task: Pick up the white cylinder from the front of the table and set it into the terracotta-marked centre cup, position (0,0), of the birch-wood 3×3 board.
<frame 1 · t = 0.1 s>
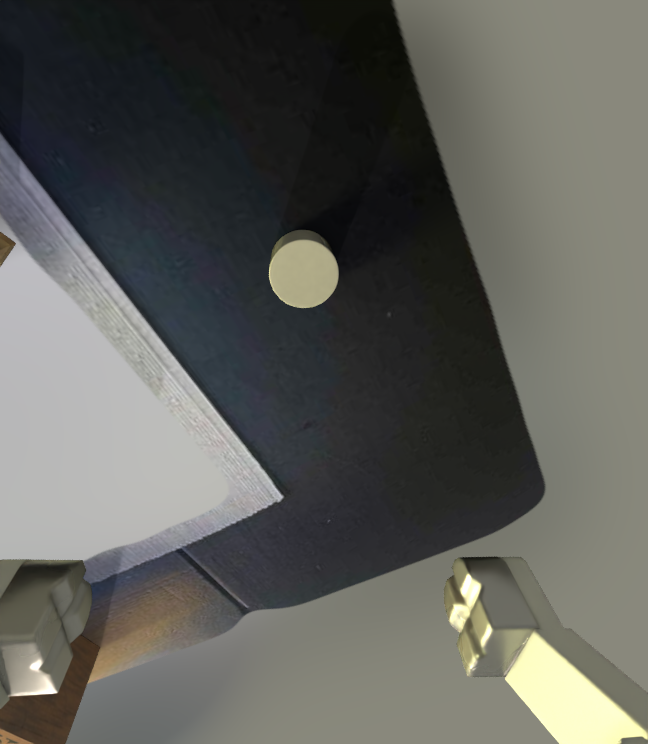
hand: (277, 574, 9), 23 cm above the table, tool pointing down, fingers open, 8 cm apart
white cylinder: (302, 262, 29), on the table
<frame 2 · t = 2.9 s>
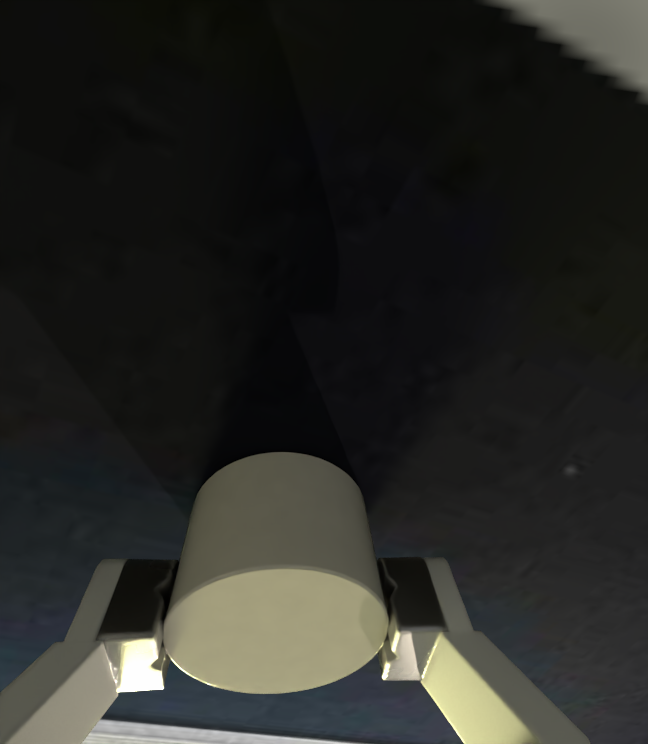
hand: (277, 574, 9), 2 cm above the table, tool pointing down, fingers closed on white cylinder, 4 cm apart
white cylinder: (280, 517, 11), on the table, touching gripper
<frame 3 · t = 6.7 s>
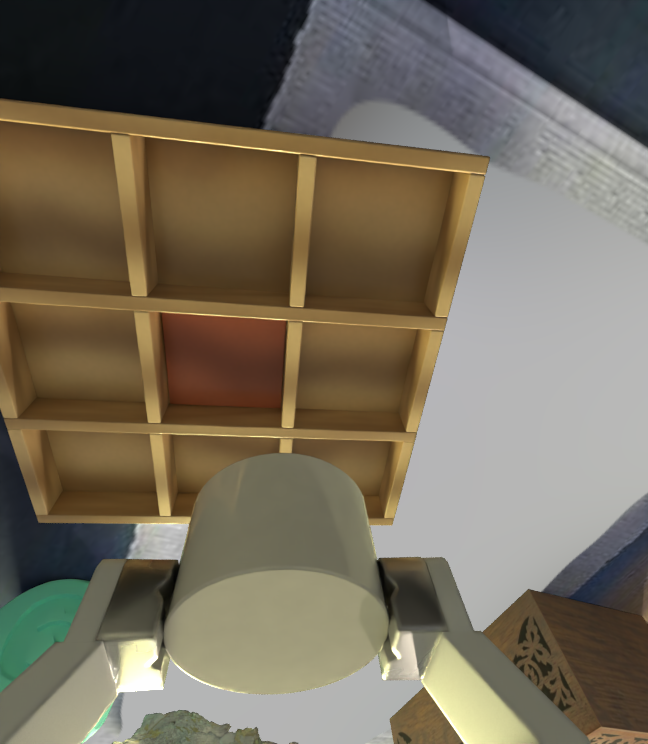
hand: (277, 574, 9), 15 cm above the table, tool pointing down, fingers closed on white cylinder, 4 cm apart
tissue box cover: (504, 669, 45), on the table
board: (227, 351, 23), on the table
rock: (204, 727, 46), on the table
white cylinder: (280, 517, 11), point 14 cm above the table, touching gripper
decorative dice: (79, 605, 34), on the table
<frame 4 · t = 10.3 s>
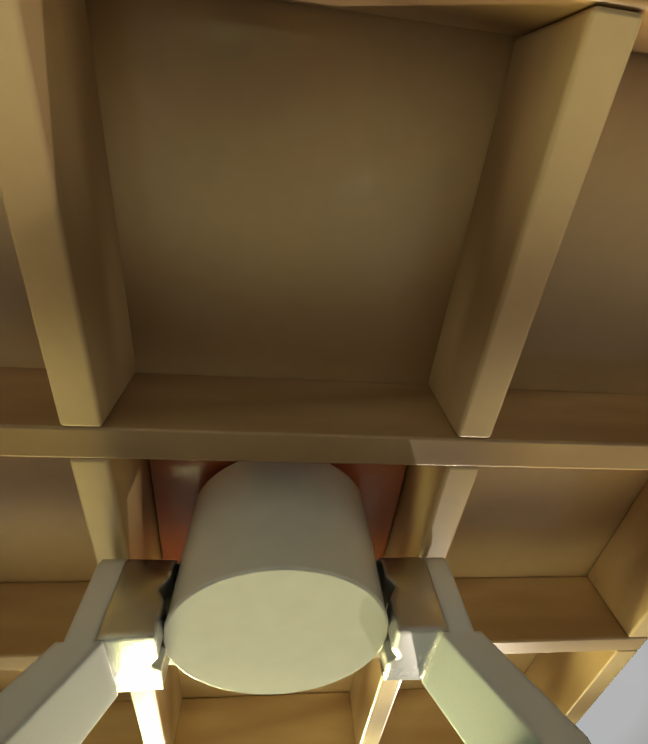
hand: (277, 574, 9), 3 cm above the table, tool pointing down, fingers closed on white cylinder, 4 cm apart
board: (280, 487, 12), on the table
white cylinder: (280, 518, 11), point 1 cm above the table, touching gripper
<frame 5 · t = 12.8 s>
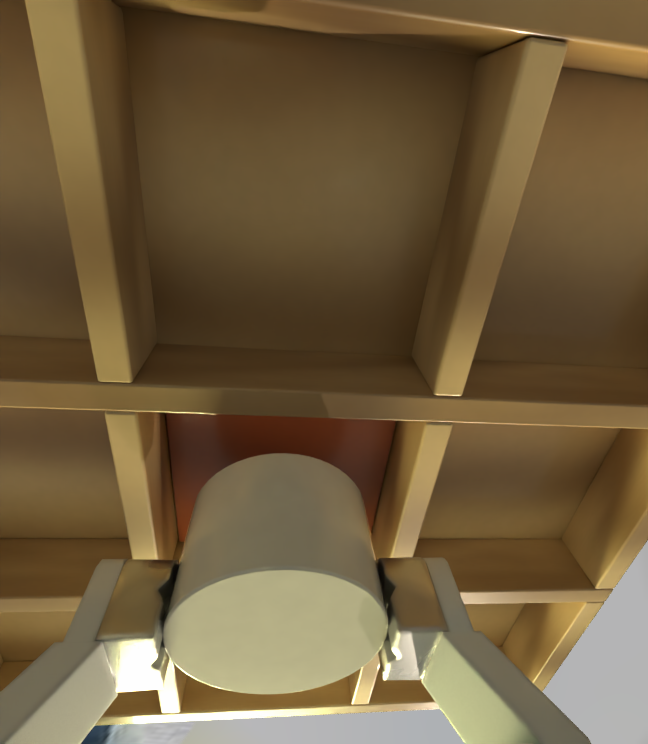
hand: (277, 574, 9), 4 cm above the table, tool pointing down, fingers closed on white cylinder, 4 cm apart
board: (281, 452, 13), on the table
white cylinder: (280, 518, 11), point 3 cm above the table, touching gripper
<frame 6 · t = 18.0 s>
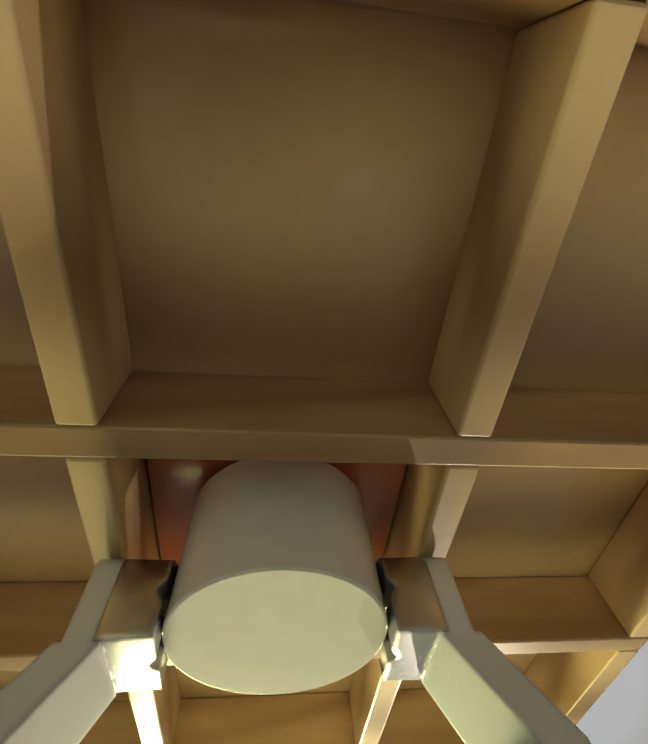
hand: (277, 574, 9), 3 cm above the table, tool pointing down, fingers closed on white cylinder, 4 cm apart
board: (278, 486, 12), on the table
white cylinder: (279, 518, 11), point 1 cm above the table, touching gripper
when the fingers open (5 cm above the table, at t = 22.6 s): white cylinder drops 2 cm, resting on board.
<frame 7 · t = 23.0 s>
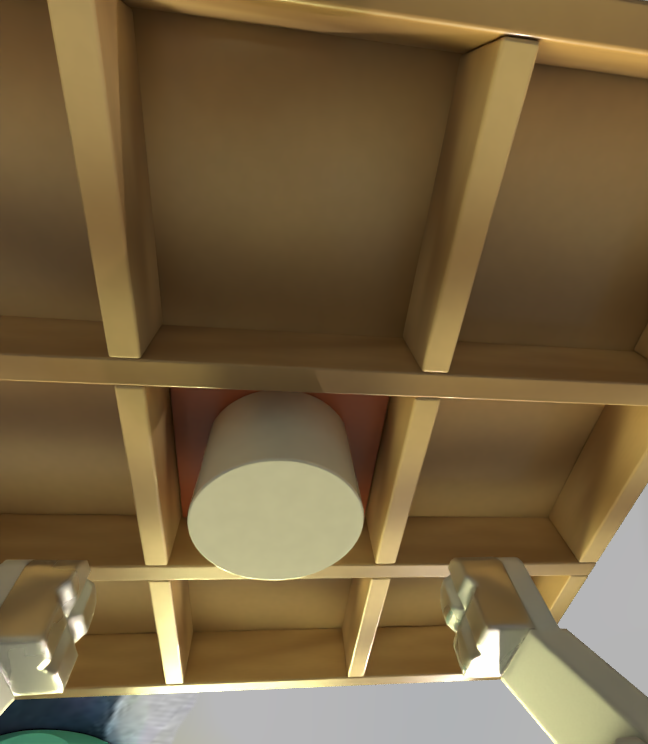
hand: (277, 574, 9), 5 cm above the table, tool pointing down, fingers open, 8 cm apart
board: (280, 432, 14), on the table
white cylinder: (279, 448, 13), point 1 cm above the table, touching board
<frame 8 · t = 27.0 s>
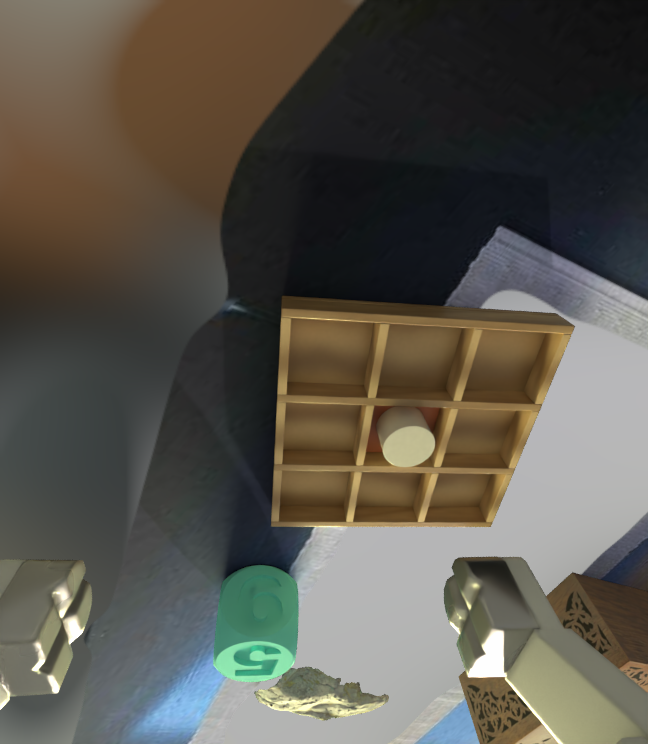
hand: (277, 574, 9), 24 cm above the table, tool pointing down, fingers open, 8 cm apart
tissue box cover: (549, 636, 59), on the table
board: (398, 419, 38), on the table
rock: (319, 682, 61), on the table
white cylinder: (400, 425, 37), point 1 cm above the table, touching board
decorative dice: (259, 584, 48), on the table
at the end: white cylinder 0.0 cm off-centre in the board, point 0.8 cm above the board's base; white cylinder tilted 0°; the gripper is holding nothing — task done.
